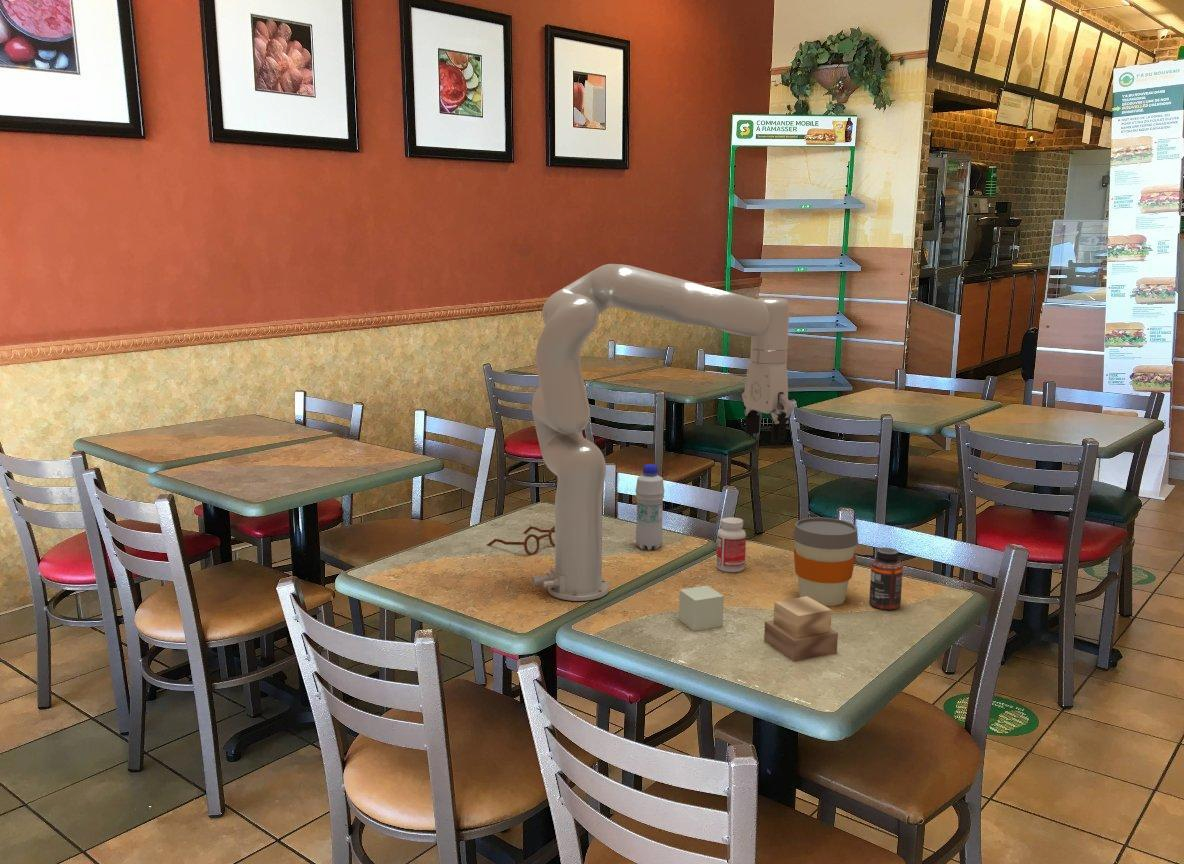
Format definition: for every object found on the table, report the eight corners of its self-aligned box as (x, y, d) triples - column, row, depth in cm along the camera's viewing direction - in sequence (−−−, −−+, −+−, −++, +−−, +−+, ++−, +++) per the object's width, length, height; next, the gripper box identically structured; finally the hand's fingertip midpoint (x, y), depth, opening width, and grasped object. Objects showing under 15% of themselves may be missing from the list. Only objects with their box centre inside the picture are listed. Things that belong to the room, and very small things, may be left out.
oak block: (797, 638, 161) (798, 616, 160) (773, 623, 167) (774, 601, 166) (830, 631, 163) (831, 609, 163) (805, 617, 170) (806, 596, 169)
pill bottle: (750, 568, 206) (752, 520, 204) (733, 575, 202) (734, 525, 200) (727, 561, 210) (729, 514, 208) (710, 568, 206) (712, 519, 204)
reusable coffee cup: (815, 613, 181) (819, 538, 178) (777, 591, 192) (781, 521, 189) (867, 603, 186) (872, 531, 183) (828, 583, 197) (831, 514, 194)
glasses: (527, 559, 213) (526, 537, 212) (486, 547, 221) (485, 526, 220) (564, 545, 223) (564, 524, 222) (524, 534, 231) (524, 514, 230)
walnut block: (793, 663, 160) (794, 641, 159) (763, 642, 168) (764, 621, 168) (836, 654, 164) (837, 632, 163) (805, 634, 172) (806, 614, 171)
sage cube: (694, 631, 172) (695, 600, 171) (678, 619, 178) (679, 589, 177) (722, 626, 175) (723, 596, 174) (706, 615, 180) (707, 585, 179)
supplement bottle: (900, 601, 187) (904, 547, 185) (900, 612, 182) (904, 556, 179) (869, 598, 189) (873, 544, 187) (867, 608, 184) (871, 553, 181)
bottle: (664, 551, 217) (665, 467, 213) (635, 551, 217) (636, 467, 213) (662, 542, 223) (664, 460, 220) (634, 542, 223) (635, 460, 220)
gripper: (731, 353, 203) (728, 431, 206) (777, 363, 187) (773, 447, 191) (760, 352, 206) (757, 429, 209) (808, 361, 190) (804, 444, 194)
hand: (764, 437), depth 200 cm, fingers open, 9 cm apart
